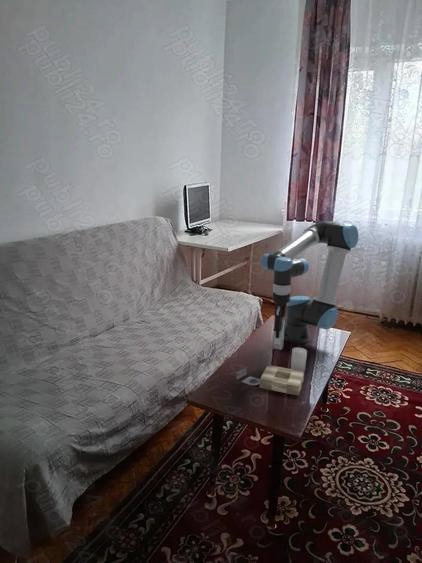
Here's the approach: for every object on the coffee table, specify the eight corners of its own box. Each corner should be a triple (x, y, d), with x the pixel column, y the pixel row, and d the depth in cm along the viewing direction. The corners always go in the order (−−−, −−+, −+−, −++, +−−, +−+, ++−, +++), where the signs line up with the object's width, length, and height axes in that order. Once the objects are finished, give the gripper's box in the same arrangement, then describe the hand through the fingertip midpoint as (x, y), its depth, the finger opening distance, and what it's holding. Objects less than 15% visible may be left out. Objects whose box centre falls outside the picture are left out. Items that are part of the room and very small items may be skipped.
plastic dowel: (291, 364, 193) (293, 346, 191) (306, 366, 191) (307, 348, 189) (289, 370, 187) (291, 352, 185) (304, 373, 185) (306, 354, 183)
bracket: (255, 388, 171) (255, 380, 170) (236, 380, 178) (236, 372, 177) (264, 383, 176) (264, 375, 175) (245, 375, 182) (245, 367, 181)
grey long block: (274, 344, 192) (276, 316, 188) (283, 346, 191) (285, 317, 187) (272, 348, 188) (274, 319, 185) (281, 349, 187) (283, 320, 183)
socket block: (267, 373, 184) (267, 364, 183) (303, 380, 179) (304, 371, 178) (259, 387, 171) (260, 378, 170) (298, 395, 166) (299, 386, 165)
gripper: (276, 286, 191) (274, 333, 198) (268, 297, 176) (265, 348, 182) (293, 288, 189) (289, 336, 195) (286, 299, 173) (282, 350, 180)
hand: (278, 341), depth 189 cm, fingers closed on grey long block, 4 cm apart
